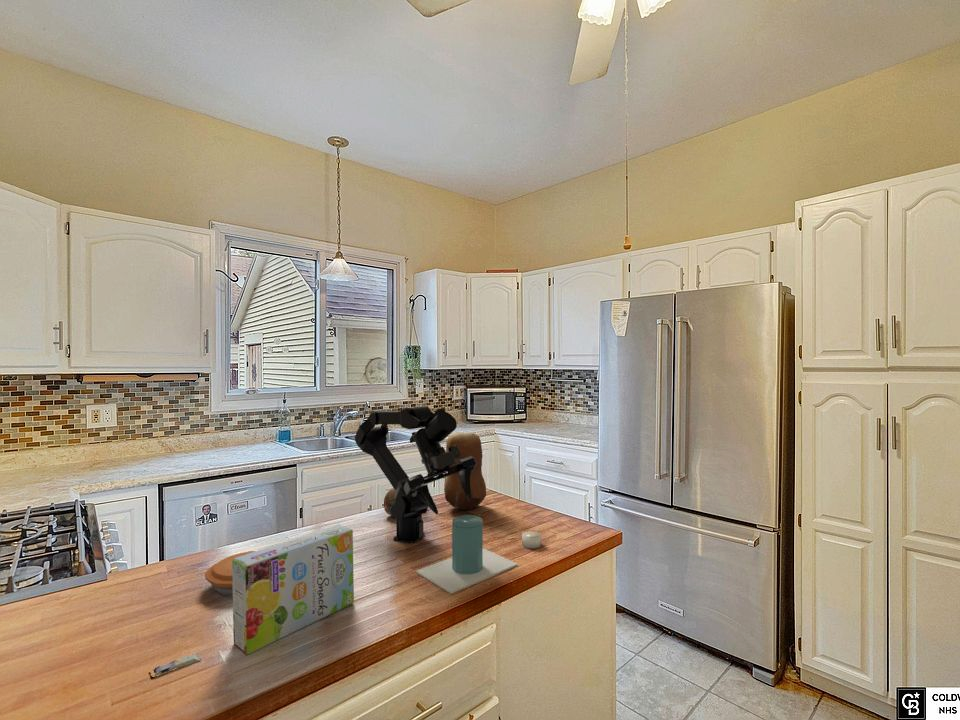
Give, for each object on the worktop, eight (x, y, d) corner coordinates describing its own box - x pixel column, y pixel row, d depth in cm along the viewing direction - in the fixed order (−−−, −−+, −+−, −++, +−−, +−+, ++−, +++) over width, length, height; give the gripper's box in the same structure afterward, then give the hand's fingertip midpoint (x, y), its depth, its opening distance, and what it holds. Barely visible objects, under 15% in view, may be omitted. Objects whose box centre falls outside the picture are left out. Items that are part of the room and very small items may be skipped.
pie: (207, 609, 91) (207, 584, 91) (203, 578, 104) (203, 556, 104) (290, 588, 100) (290, 565, 100) (277, 561, 113) (277, 541, 113)
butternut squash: (468, 499, 162) (468, 427, 162) (494, 509, 151) (494, 432, 151) (435, 507, 153) (435, 431, 153) (460, 518, 142) (460, 436, 142)
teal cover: (447, 564, 110) (447, 518, 110) (473, 558, 113) (473, 513, 113) (461, 576, 104) (461, 527, 104) (488, 569, 107) (488, 522, 107)
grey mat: (451, 594, 97) (451, 592, 97) (415, 572, 107) (415, 570, 107) (517, 565, 110) (517, 563, 110) (481, 548, 120) (481, 547, 120)
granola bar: (197, 656, 78) (197, 650, 78) (201, 663, 76) (201, 656, 76) (148, 674, 73) (148, 668, 73) (150, 682, 71) (150, 675, 71)
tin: (388, 519, 142) (388, 492, 142) (382, 517, 144) (381, 490, 144) (423, 507, 154) (423, 481, 154) (416, 505, 156) (416, 480, 155)
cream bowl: (519, 546, 121) (519, 537, 121) (524, 539, 126) (524, 530, 126) (538, 549, 120) (538, 539, 120) (542, 542, 124) (542, 532, 124)
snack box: (338, 595, 97) (338, 522, 97) (354, 604, 93) (354, 529, 93) (231, 643, 80) (231, 556, 80) (246, 657, 77) (246, 566, 77)
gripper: (402, 449, 110) (426, 512, 104) (470, 427, 119) (496, 484, 113) (394, 465, 119) (416, 524, 113) (459, 443, 128) (482, 497, 122)
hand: (454, 507), depth 115 cm, fingers open, 9 cm apart
